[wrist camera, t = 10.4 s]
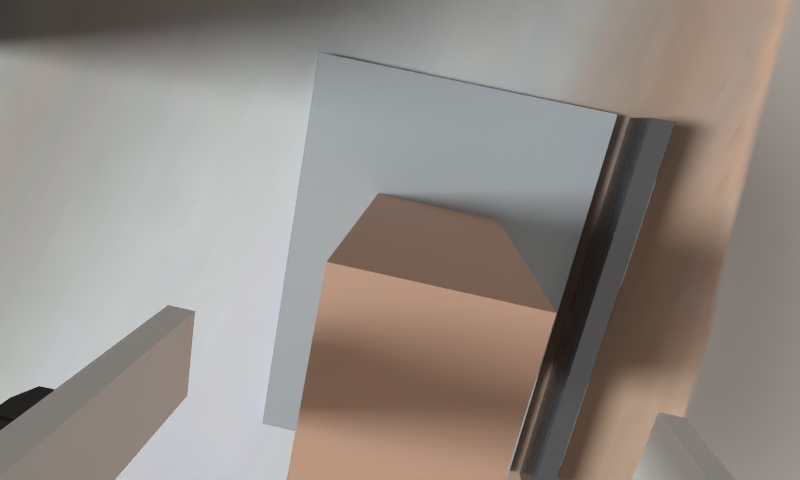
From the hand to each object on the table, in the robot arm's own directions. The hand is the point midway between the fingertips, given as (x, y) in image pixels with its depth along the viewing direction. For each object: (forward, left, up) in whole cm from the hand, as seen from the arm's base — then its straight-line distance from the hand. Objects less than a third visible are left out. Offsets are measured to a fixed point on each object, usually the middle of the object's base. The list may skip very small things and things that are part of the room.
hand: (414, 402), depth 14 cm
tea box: (0, 0, -12) cm, 12 cm away
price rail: (0, +8, -12) cm, 15 cm away
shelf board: (0, 0, -12) cm, 12 cm away
